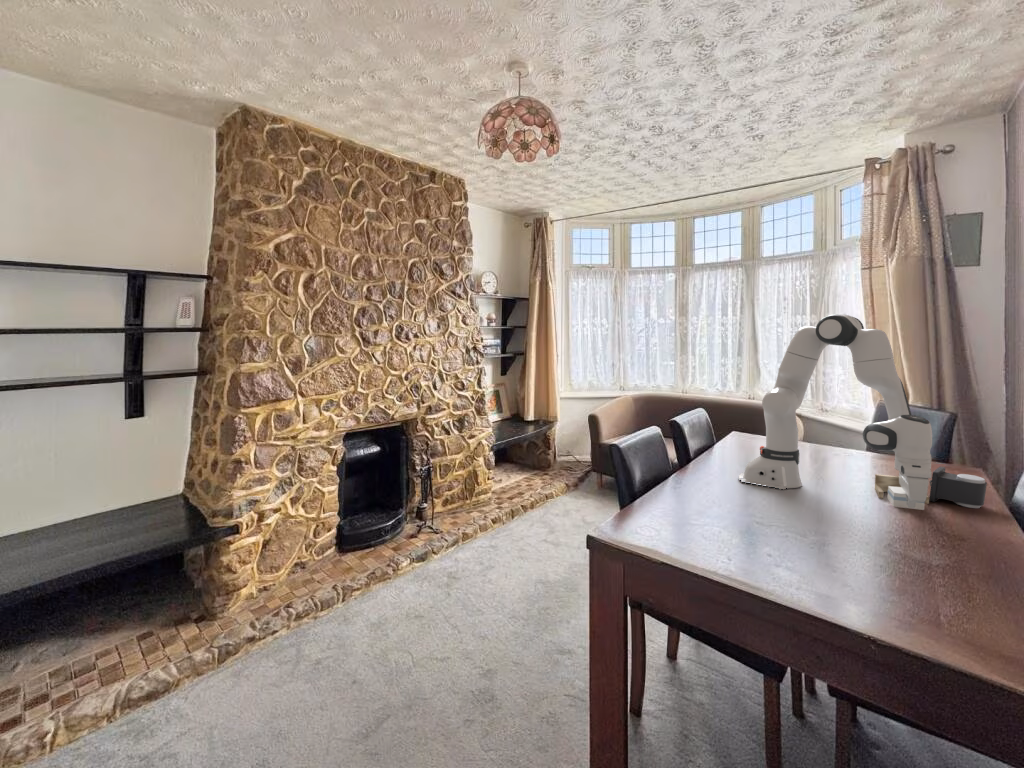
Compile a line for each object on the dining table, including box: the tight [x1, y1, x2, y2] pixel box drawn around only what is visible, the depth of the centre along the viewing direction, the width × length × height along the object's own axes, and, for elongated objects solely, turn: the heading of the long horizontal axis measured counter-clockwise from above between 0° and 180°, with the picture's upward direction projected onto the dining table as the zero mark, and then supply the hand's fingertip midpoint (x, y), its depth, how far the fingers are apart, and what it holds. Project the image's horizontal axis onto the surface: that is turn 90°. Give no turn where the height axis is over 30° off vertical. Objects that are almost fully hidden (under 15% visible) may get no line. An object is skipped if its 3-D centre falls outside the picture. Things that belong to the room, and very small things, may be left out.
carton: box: [887, 486, 926, 511], centre depth 154 cm, size 8×8×5 cm
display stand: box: [874, 473, 930, 505], centre depth 162 cm, size 13×10×6 cm
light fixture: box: [929, 466, 988, 509], centre depth 154 cm, size 11×13×11 cm
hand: (910, 506), depth 147 cm, fingers closed
